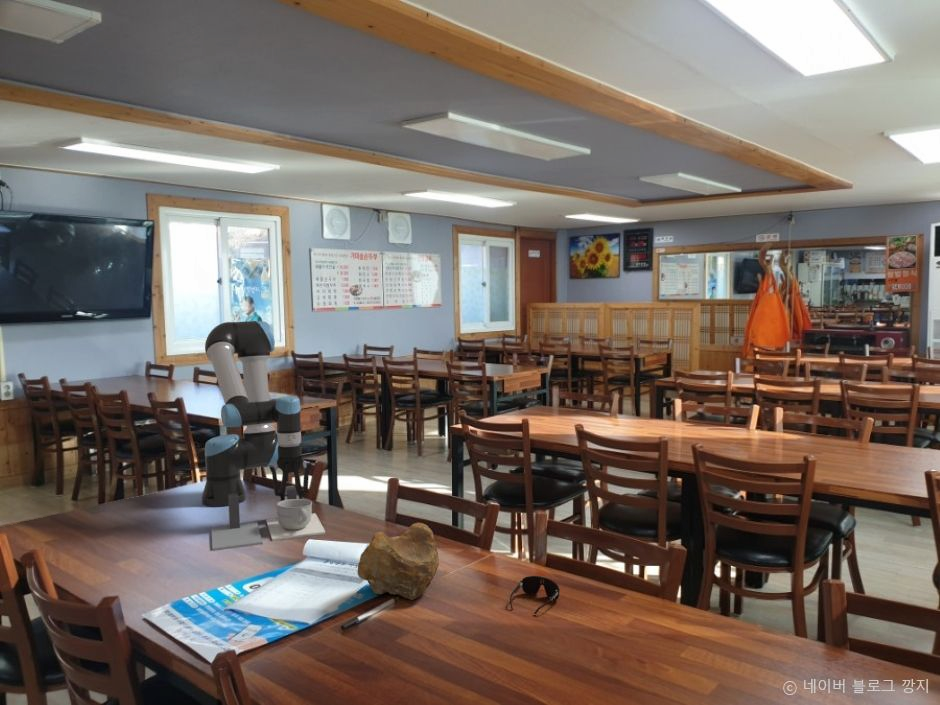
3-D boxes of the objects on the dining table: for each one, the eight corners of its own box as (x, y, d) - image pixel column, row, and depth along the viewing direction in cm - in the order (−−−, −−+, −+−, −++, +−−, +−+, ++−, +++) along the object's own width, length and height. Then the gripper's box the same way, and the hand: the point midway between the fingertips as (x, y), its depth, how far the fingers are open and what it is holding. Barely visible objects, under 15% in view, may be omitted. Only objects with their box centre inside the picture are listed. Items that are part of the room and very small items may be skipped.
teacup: (275, 524, 225) (274, 500, 225) (309, 519, 230) (308, 495, 229) (282, 538, 213) (281, 512, 212) (318, 532, 217) (317, 507, 216)
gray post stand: (211, 528, 224) (209, 495, 223) (256, 522, 229) (255, 490, 228) (212, 550, 205) (210, 515, 204) (262, 543, 210) (261, 509, 209)
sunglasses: (562, 599, 170) (561, 580, 169) (543, 624, 160) (542, 605, 159) (524, 590, 175) (523, 572, 174) (503, 614, 165) (502, 596, 164)
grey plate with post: (265, 520, 232) (264, 488, 231) (315, 514, 237) (314, 483, 236) (272, 540, 212) (270, 506, 211) (325, 533, 218) (324, 500, 217)
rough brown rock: (395, 619, 162) (399, 557, 160) (348, 594, 172) (351, 535, 171) (460, 589, 180) (465, 533, 178) (414, 568, 190) (418, 515, 189)
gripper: (264, 449, 222) (267, 521, 224) (316, 444, 228) (318, 514, 230) (262, 444, 229) (265, 514, 231) (312, 440, 235) (315, 508, 237)
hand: (291, 514), depth 231 cm, fingers closed on grey plate with post, 3 cm apart
